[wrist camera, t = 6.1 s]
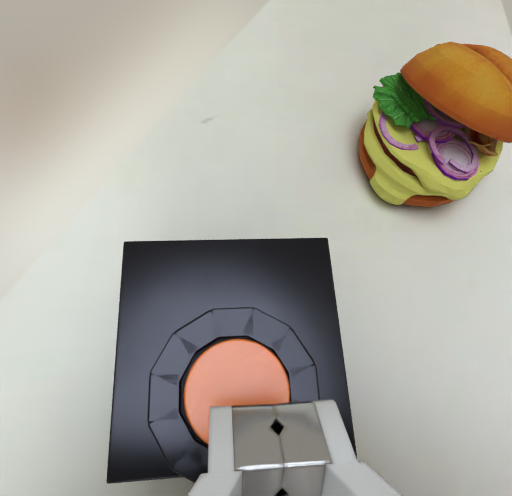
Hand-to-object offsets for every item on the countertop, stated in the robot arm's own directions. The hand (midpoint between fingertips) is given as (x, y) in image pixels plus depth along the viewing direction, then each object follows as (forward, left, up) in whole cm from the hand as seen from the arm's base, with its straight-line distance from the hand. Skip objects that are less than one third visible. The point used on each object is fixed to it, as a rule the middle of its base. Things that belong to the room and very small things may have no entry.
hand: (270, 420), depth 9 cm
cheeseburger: (+16, -17, -14) cm, 27 cm away
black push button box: (+3, 0, -14) cm, 14 cm away
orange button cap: (+1, +1, -6) cm, 6 cm away
